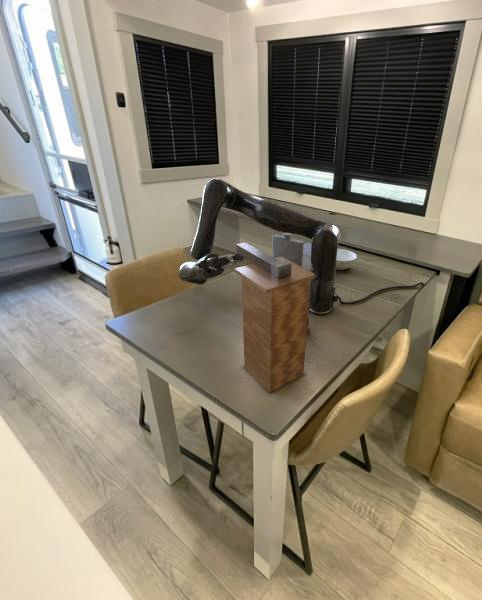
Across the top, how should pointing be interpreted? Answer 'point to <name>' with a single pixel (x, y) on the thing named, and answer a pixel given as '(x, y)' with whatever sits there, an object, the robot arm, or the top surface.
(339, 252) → the cereal bowl
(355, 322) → the top surface
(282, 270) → the handle stick
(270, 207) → the robot arm
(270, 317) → the oak stand
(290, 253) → the hip flask
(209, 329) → the top surface
